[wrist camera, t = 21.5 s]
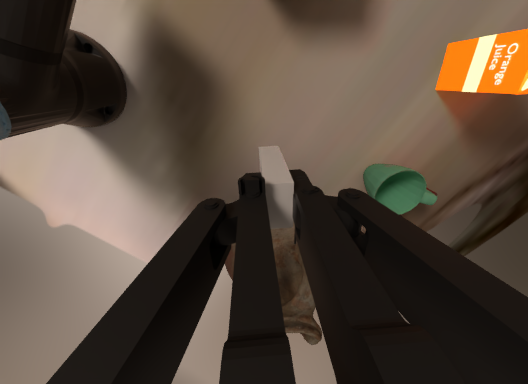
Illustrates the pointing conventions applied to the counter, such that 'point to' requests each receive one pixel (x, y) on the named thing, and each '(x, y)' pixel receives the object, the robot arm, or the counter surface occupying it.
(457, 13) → the counter surface
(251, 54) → the counter surface
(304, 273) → the jug
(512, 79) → the orange juice
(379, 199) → the mug
